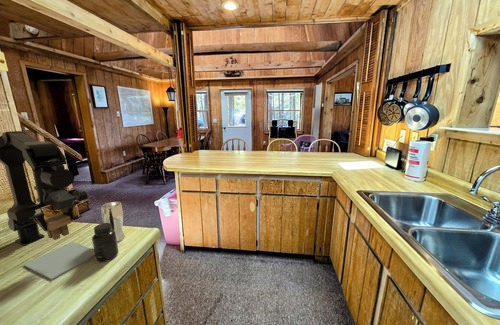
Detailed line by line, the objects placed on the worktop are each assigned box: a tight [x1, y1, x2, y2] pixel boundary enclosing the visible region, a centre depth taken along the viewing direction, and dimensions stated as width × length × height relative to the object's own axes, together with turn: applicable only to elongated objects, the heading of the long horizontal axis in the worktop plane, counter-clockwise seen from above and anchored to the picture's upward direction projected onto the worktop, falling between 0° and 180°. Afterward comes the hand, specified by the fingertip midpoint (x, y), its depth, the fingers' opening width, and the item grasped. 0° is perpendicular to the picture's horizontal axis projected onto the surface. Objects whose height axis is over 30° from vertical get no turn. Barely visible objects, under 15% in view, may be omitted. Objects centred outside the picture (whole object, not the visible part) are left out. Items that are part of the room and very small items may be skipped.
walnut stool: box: [44, 212, 72, 241], centre depth 69 cm, size 6×6×6 cm
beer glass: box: [101, 201, 125, 243], centre depth 83 cm, size 7×7×15 cm
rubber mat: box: [23, 241, 95, 281], centre depth 72 cm, size 16×14×1 cm
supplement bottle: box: [91, 222, 119, 263], centre depth 73 cm, size 7×7×12 cm
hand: (56, 226), depth 69 cm, fingers closed on walnut stool, 5 cm apart
